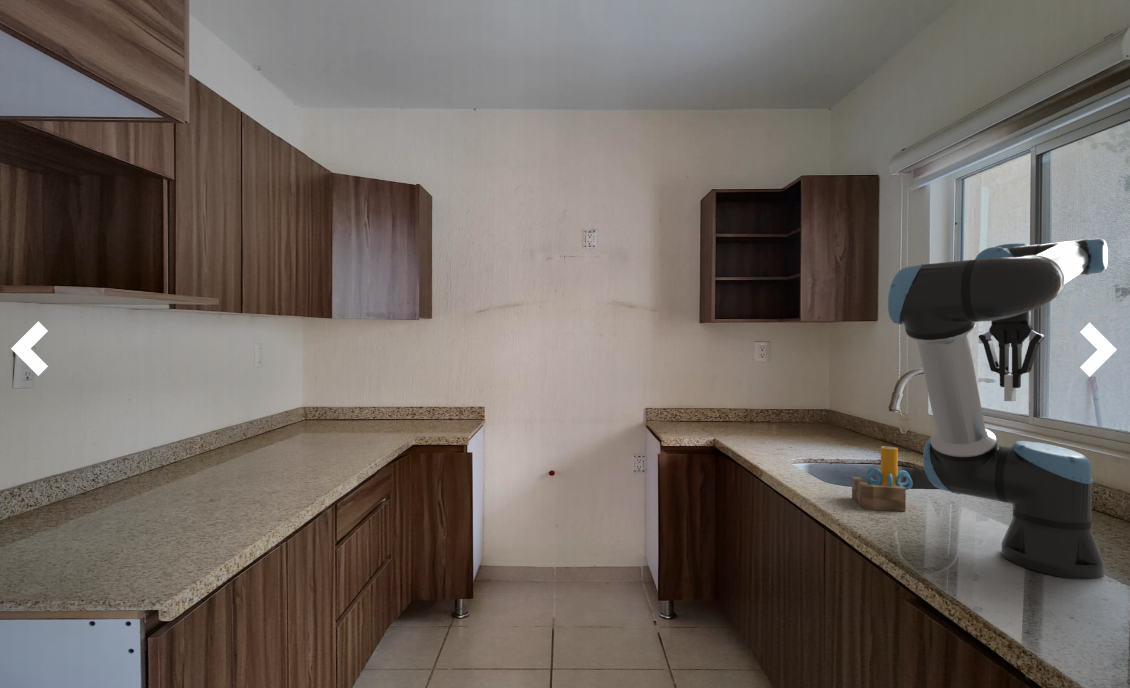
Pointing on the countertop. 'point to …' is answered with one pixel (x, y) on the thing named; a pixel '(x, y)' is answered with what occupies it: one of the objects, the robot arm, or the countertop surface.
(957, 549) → the countertop surface
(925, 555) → the countertop surface
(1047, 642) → the countertop surface
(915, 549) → the countertop surface
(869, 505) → the v block
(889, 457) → the yellow and blue tube
